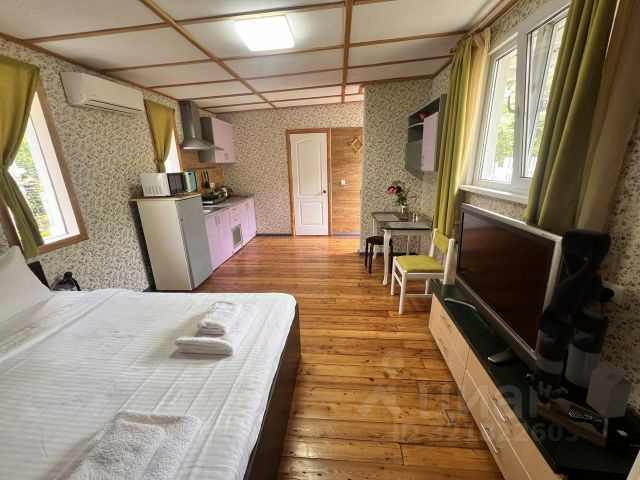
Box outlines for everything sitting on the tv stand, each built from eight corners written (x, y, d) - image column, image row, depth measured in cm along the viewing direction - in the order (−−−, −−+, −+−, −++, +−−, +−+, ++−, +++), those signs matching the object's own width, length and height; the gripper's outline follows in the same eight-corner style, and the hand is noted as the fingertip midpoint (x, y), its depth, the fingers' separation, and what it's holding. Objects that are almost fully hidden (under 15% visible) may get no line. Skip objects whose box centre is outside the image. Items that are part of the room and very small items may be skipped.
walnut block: (551, 404, 102) (553, 396, 101) (569, 412, 99) (570, 404, 98) (549, 412, 99) (550, 404, 98) (566, 421, 96) (568, 412, 95)
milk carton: (603, 400, 103) (612, 360, 98) (624, 416, 96) (634, 374, 92) (585, 402, 103) (593, 362, 98) (605, 418, 96) (614, 376, 92)
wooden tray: (542, 397, 107) (543, 390, 106) (606, 427, 94) (608, 418, 93) (536, 413, 101) (537, 405, 100) (604, 447, 87) (606, 438, 86)
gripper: (574, 369, 95) (567, 406, 100) (529, 352, 105) (525, 387, 110) (571, 380, 91) (564, 419, 95) (524, 362, 101) (520, 398, 105)
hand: (543, 402), depth 102 cm, fingers closed
